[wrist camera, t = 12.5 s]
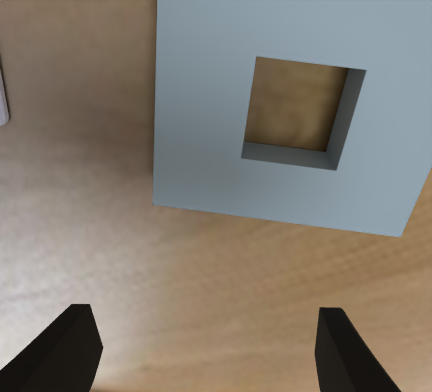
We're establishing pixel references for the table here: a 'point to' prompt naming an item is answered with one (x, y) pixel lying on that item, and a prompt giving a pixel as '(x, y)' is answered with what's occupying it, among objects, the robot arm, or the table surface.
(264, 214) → the light blue flat block
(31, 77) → the table surface
